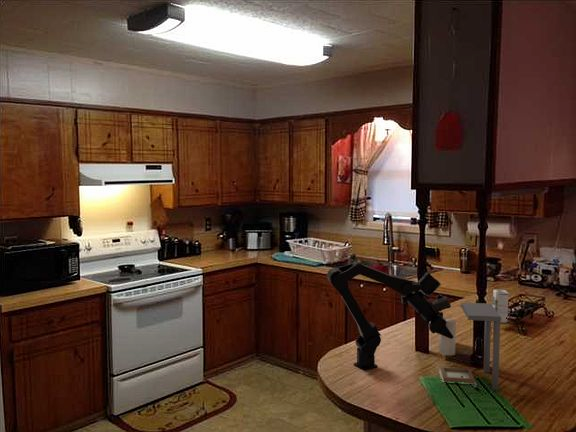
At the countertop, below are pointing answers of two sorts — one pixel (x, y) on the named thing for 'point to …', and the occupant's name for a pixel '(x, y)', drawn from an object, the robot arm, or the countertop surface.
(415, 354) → the countertop surface
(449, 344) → the ceramic jar
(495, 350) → the shelf
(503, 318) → the syrup box
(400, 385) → the countertop surface
